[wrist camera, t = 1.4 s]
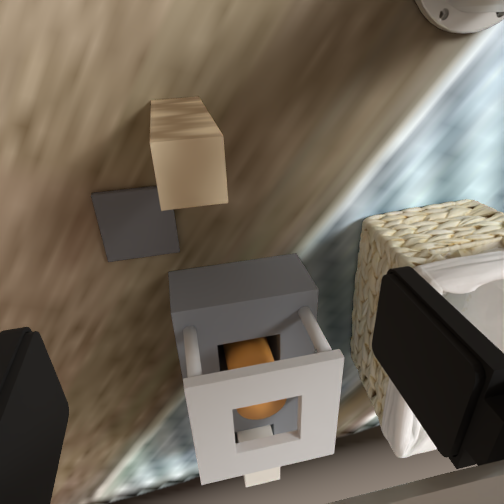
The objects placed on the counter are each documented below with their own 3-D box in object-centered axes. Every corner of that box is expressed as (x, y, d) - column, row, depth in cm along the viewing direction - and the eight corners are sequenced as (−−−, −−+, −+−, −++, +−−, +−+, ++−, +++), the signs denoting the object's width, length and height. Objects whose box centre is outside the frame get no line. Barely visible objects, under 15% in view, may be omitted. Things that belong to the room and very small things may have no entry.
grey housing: (168, 271, 42) (174, 376, 29) (296, 253, 44) (351, 342, 32) (195, 429, 55) (207, 546, 42) (292, 408, 57) (331, 514, 45)
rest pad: (169, 184, 37) (170, 186, 36) (179, 249, 41) (180, 252, 40) (91, 193, 36) (90, 195, 35) (108, 259, 39) (108, 261, 39)
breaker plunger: (221, 329, 42) (234, 389, 35) (265, 322, 43) (286, 378, 36) (224, 362, 44) (237, 424, 37) (266, 354, 45) (286, 413, 38)
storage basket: (444, 341, 57) (525, 431, 45) (338, 365, 55) (392, 466, 42) (481, 185, 45) (608, 248, 32) (347, 207, 42) (427, 284, 30)
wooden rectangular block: (198, 96, 34) (223, 135, 22) (203, 143, 36) (228, 202, 24) (151, 100, 33) (149, 142, 21) (158, 147, 35) (161, 210, 23)
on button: (233, 412, 49) (244, 466, 43) (264, 406, 49) (279, 458, 43) (235, 433, 51) (245, 487, 45) (265, 426, 51) (280, 479, 45)
